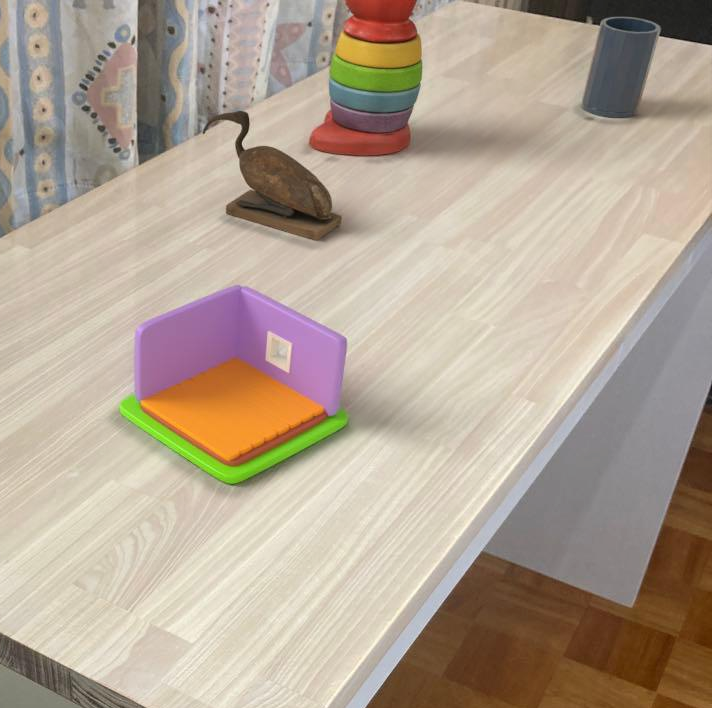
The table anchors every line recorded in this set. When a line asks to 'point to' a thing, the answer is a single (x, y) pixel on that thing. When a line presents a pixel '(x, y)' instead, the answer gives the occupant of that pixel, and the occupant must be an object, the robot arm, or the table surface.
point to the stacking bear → (372, 80)
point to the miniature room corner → (236, 382)
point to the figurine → (279, 189)
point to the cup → (620, 66)
